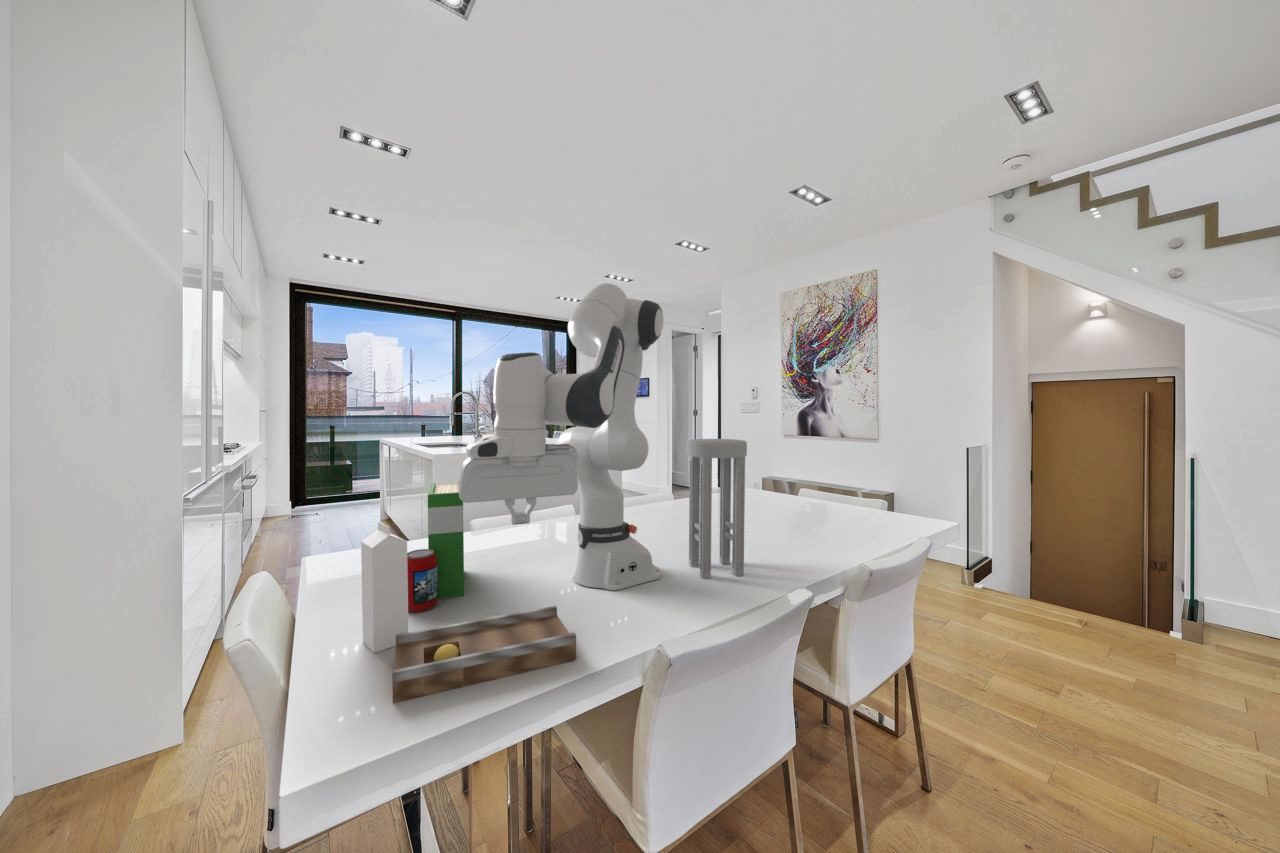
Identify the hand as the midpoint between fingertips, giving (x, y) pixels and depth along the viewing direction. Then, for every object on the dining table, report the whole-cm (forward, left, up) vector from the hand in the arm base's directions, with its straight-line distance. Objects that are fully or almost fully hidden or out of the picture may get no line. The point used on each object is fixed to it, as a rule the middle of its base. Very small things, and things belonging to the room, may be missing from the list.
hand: (520, 523), depth 83 cm
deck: (+6, 0, -23) cm, 24 cm away
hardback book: (+10, -41, -23) cm, 48 cm away
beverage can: (+16, -29, -23) cm, 40 cm away
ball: (+12, 0, -21) cm, 24 cm away
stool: (-56, -22, -23) cm, 64 cm away
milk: (+22, -15, -23) cm, 35 cm away
